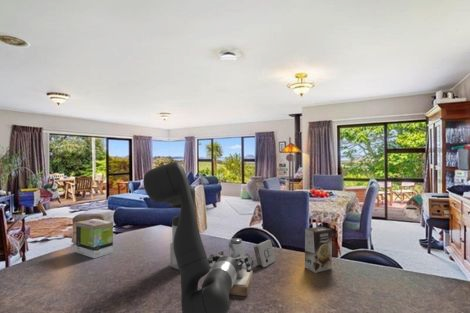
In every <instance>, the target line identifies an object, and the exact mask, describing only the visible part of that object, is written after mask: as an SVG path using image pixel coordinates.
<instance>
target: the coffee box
mask: <svg viewBox="0 0 470 313" xmlns="http://www.w3.org/2000/svg"><path fill="white" fill-rule="evenodd" d="M304 232H305V233H304V234H305V235H304V243H305V244H304V268H305V269H307V270H308V271H311V272H312V273H315V274H317V273H320V272H325V271H328V270H332V267H333V266H332V260H333V255H332V254H333V251H332V250H333V249H332V248H333V247H332V246H333V245H332V244H333V243H332V242H333V236H332V235H333V229H331V228H327V227H325V226H324V227H323V226H315V227H308V228H305V230H304Z"/></svg>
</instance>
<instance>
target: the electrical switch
mask: <svg viewBox="0 0 470 313" xmlns="http://www.w3.org/2000/svg"><path fill="white" fill-rule="evenodd" d="M273 247H274V246H273V244H272V241H271V239H267V240H265V241H262V242H260V243H258V244H256V245H254V246H253V250H254V256H255V259H256V263H257V266H261V267H262V268H266V267H268V266H270V265H271V264H273V263H275V262H276V257H275V252H274V248H273Z"/></svg>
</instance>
